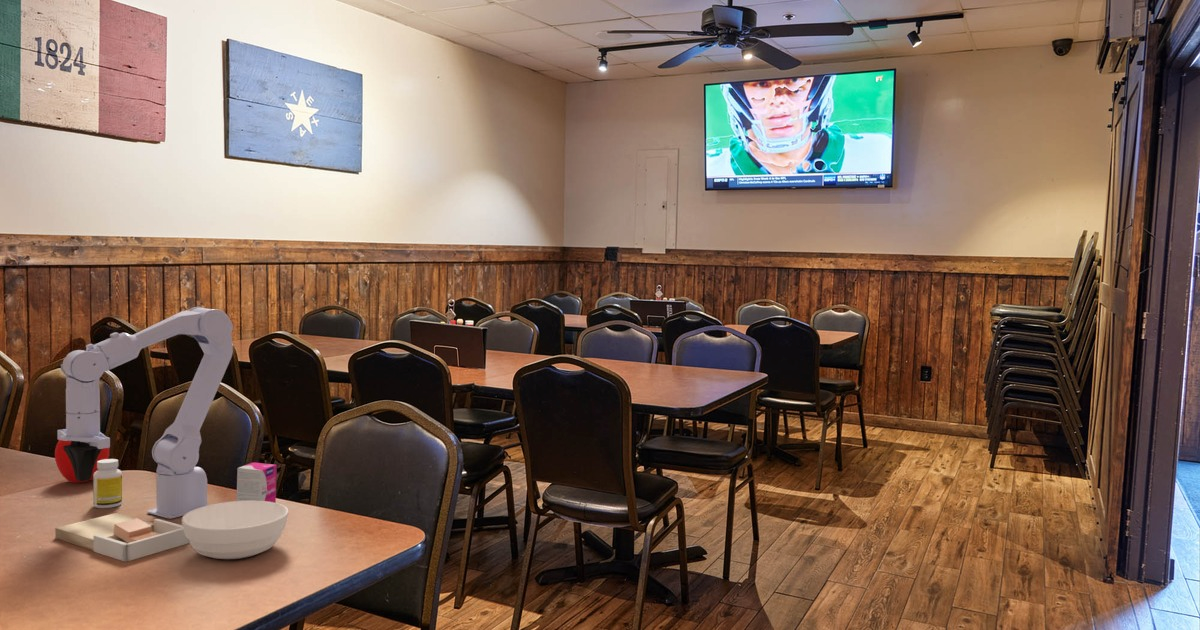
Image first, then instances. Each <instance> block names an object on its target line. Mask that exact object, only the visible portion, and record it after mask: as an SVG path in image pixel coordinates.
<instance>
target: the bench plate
mask: <svg viewBox="0 0 1200 630" xmlns="http://www.w3.org/2000/svg"><path fill="white" fill-rule="evenodd" d="M136 518H137V517H133V516H129V515H125V514H122V513H118V512H114V513H111V514H107V515H106V514H105V515H103V516H98V517H93V518H90V519H86V520H83V521H79V522H78V521H77V522H73V523H69V524H65V525H61V526H58V527H55V532H54V533H55V535H54V537H55V539H57V540H60V541H63V542H66V543H70V544H73V545H75V546H77V547H78V546H79V547H81V548H85V549H88V550H91V551H94V546H93V535H97V534H98V535H102V536H105V537H108V538H111V539H115V540H118V541H121V542H124V541H125V540H123V539H121V538H119V537H118V536H116V535H114V524H117V523H121V522H124V521H128V520H132V519H136ZM141 520H142V521H143V522H145V523H147V524H149V525H150V526H152V528H151V532H154V522H150V521H147V520H143V519H141Z"/></svg>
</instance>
